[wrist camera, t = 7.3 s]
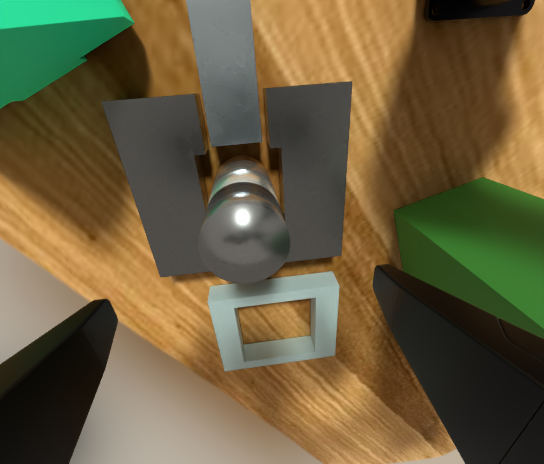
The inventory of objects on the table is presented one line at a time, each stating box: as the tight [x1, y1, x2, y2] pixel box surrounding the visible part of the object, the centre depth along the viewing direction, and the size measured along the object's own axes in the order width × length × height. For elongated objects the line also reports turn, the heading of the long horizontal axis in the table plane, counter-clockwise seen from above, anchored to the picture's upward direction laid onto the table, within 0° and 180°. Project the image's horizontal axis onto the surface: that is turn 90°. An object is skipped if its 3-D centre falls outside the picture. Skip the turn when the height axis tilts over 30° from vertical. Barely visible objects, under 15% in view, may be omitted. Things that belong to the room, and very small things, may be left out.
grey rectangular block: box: [186, 0, 262, 147], centre depth 15 cm, size 3×8×2 cm, turn 4°
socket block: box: [102, 81, 352, 277], centre depth 19 cm, size 14×12×2 cm
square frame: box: [208, 271, 339, 371], centre depth 25 cm, size 11×9×2 cm
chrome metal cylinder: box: [198, 156, 290, 283], centre depth 16 cm, size 4×4×9 cm
